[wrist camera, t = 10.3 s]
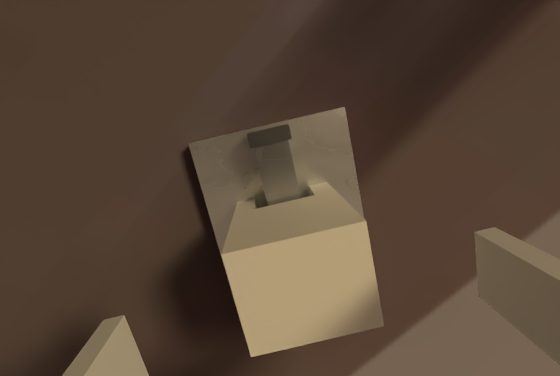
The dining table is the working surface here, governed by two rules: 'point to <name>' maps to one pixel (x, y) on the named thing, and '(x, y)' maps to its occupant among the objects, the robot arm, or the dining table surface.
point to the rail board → (275, 165)
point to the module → (301, 271)
